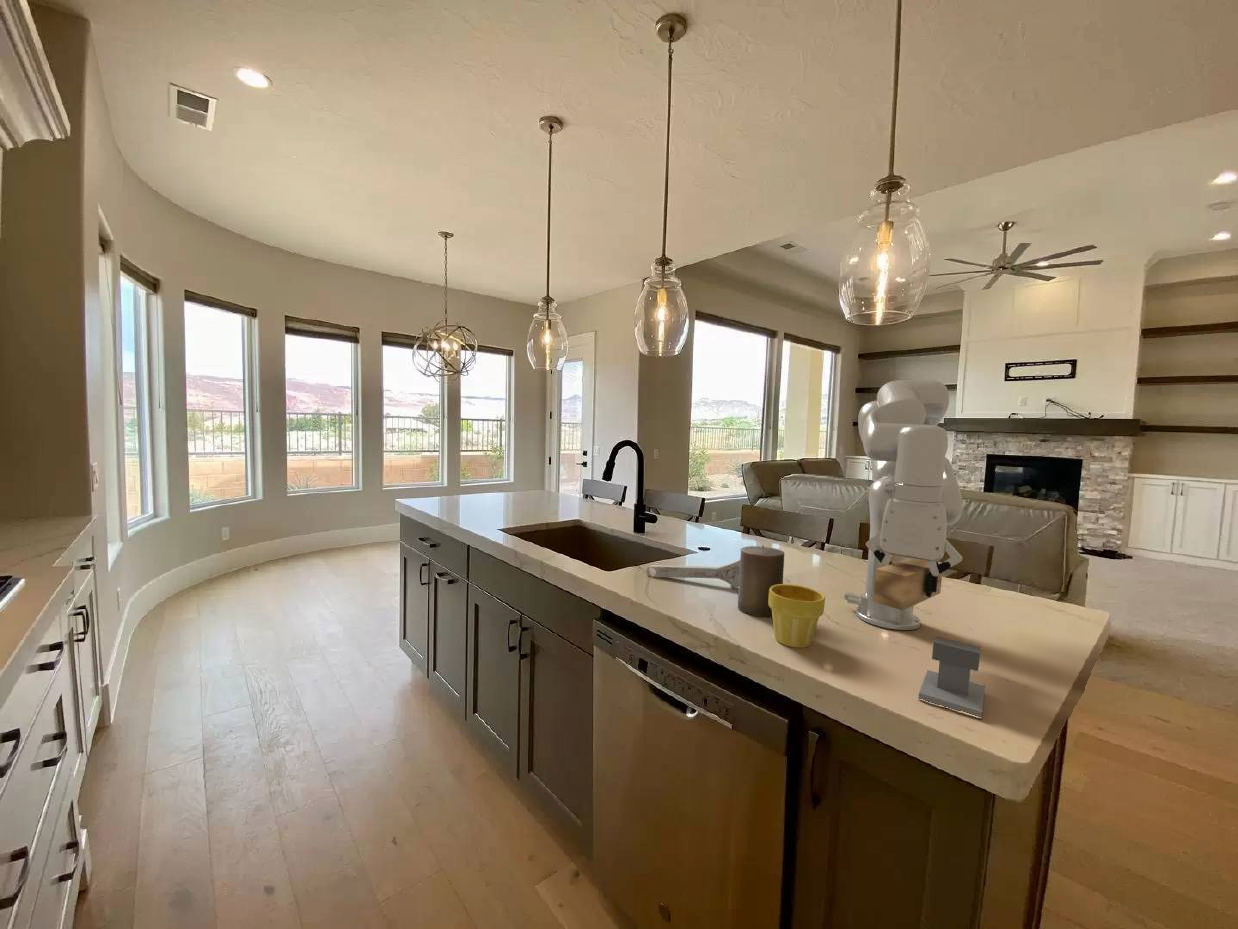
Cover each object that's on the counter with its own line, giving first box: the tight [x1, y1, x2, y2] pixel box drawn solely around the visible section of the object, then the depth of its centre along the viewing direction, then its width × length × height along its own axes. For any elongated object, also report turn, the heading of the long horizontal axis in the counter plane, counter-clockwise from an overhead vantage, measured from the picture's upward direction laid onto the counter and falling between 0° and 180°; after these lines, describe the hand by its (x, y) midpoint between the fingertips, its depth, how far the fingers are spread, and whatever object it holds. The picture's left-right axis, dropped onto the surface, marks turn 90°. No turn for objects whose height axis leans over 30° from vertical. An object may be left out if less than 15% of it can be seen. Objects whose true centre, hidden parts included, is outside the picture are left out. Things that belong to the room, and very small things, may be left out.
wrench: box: [645, 558, 740, 590], centre depth 135 cm, size 8×2×30 cm
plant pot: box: [768, 583, 826, 648], centre depth 100 cm, size 10×10×10 cm
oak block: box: [873, 558, 943, 611], centre depth 94 cm, size 5×16×6 cm, turn 128°
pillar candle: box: [737, 544, 785, 618], centre depth 116 cm, size 10×10×15 cm
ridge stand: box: [918, 635, 986, 719], centre depth 81 cm, size 8×10×8 cm
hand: (908, 590), depth 94 cm, fingers closed on oak block, 6 cm apart
